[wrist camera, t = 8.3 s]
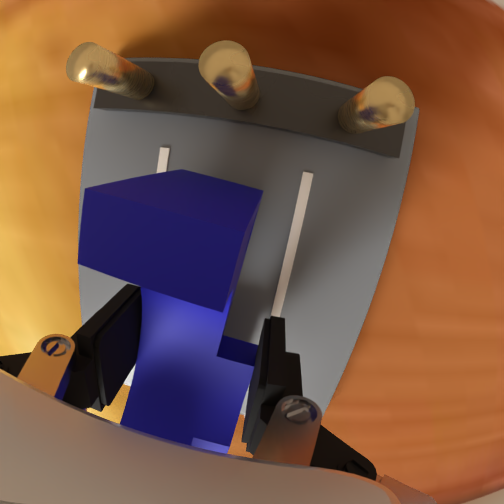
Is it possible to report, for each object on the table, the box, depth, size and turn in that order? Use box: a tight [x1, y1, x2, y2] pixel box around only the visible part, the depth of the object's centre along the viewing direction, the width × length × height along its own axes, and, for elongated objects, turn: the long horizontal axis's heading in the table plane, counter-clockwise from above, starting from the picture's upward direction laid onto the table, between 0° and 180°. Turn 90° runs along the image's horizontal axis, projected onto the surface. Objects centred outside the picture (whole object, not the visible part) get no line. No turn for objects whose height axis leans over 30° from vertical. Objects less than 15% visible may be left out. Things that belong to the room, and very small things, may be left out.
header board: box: [78, 58, 419, 417], centre depth 14 cm, size 14×17×1 cm
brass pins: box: [66, 40, 415, 158], centre depth 9 cm, size 12×2×5 cm, turn 80°
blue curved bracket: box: [78, 169, 263, 454], centre depth 10 cm, size 12×4×6 cm, turn 165°
